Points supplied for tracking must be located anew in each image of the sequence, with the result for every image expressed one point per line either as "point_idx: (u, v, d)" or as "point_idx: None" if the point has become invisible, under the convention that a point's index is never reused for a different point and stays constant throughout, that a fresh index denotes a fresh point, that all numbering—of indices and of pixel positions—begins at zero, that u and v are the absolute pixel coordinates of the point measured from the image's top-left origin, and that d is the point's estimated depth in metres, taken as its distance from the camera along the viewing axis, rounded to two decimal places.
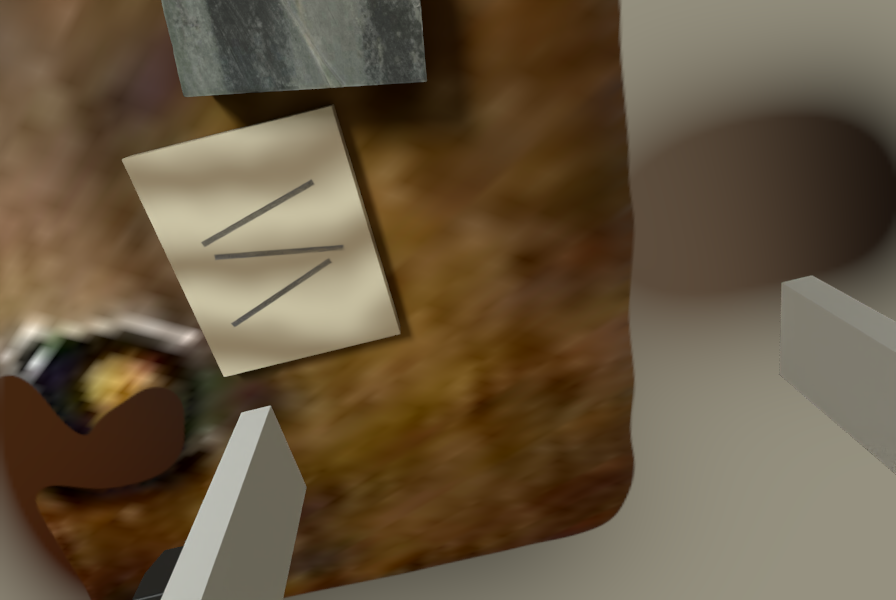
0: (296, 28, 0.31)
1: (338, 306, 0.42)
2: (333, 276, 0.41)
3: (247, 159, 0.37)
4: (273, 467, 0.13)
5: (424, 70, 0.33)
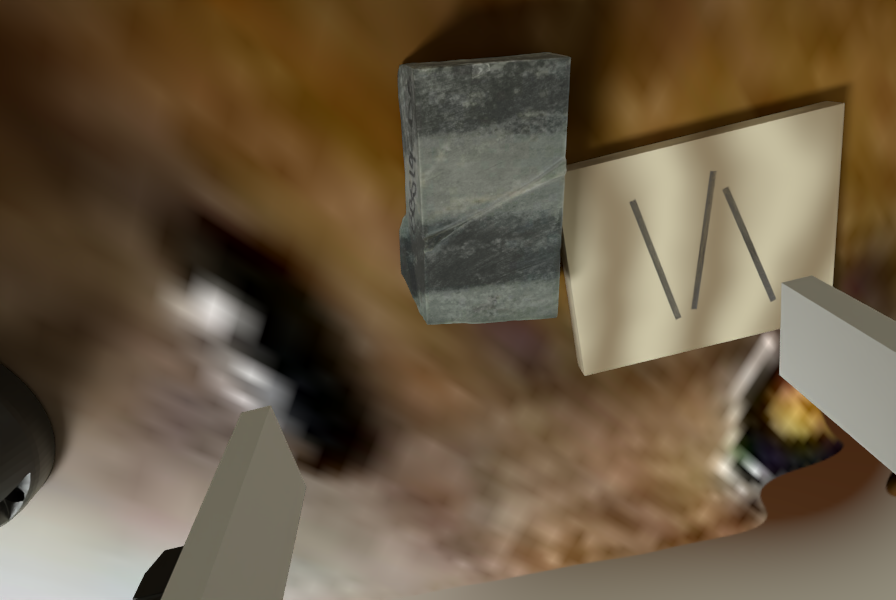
0: (503, 205, 0.30)
1: (784, 182, 0.34)
2: (745, 185, 0.34)
3: (599, 266, 0.35)
4: (273, 467, 0.13)
5: (558, 59, 0.27)
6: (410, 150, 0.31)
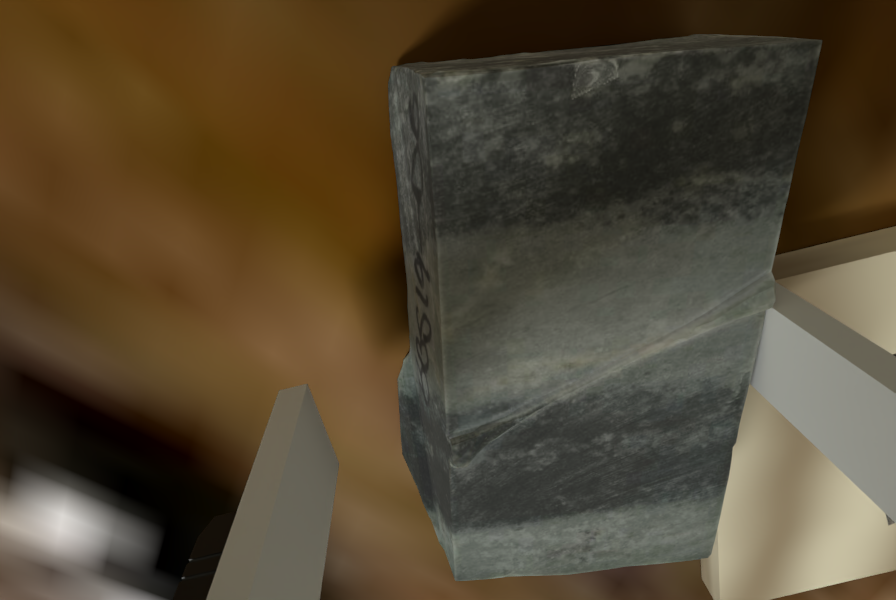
0: (625, 371, 0.14)
1: None
2: None
3: (770, 448, 0.19)
4: (311, 441, 0.14)
5: (790, 46, 0.11)
6: (417, 249, 0.14)
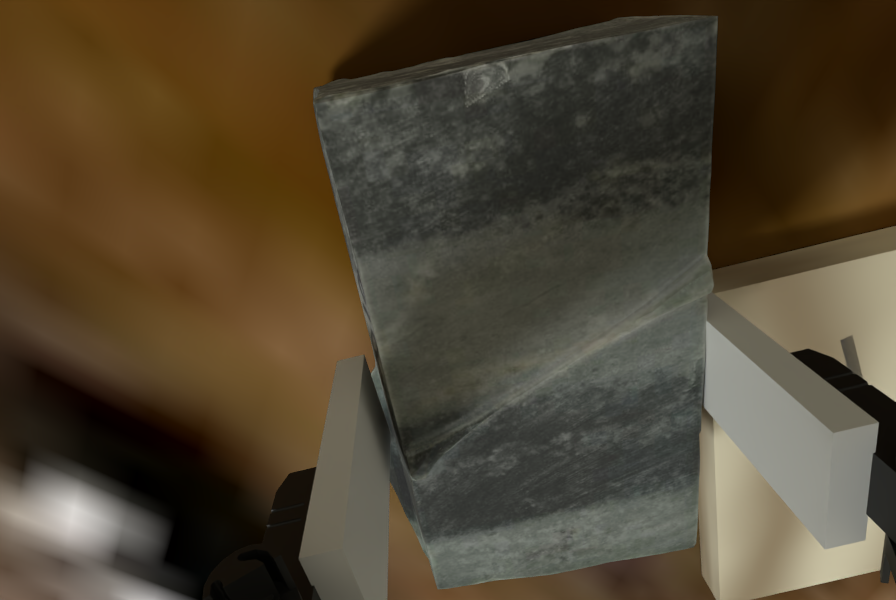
0: (571, 370, 0.13)
1: None
2: None
3: None
4: (371, 408, 0.15)
5: (684, 26, 0.10)
6: (356, 266, 0.14)
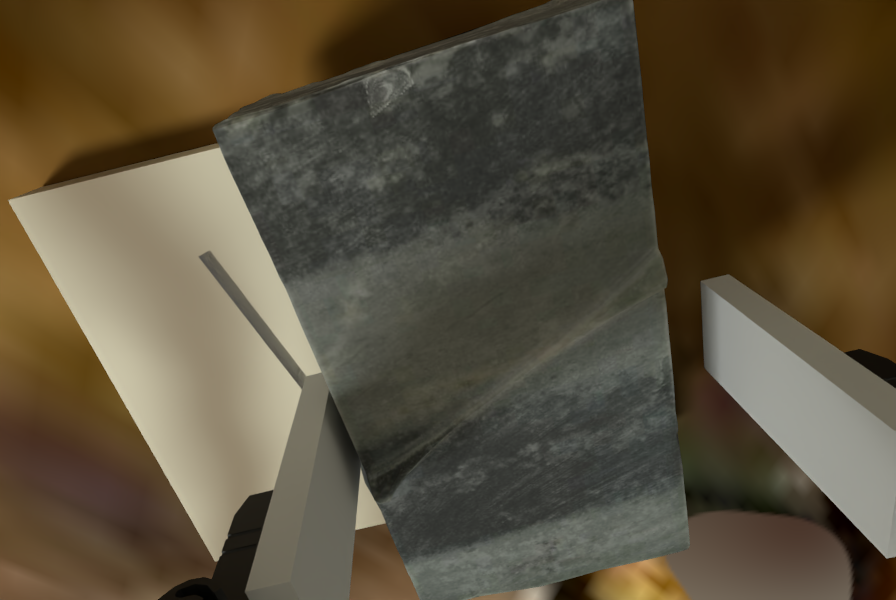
0: (528, 380, 0.13)
1: None
2: None
3: (176, 378, 0.18)
4: (339, 425, 0.14)
5: (596, 7, 0.09)
6: None
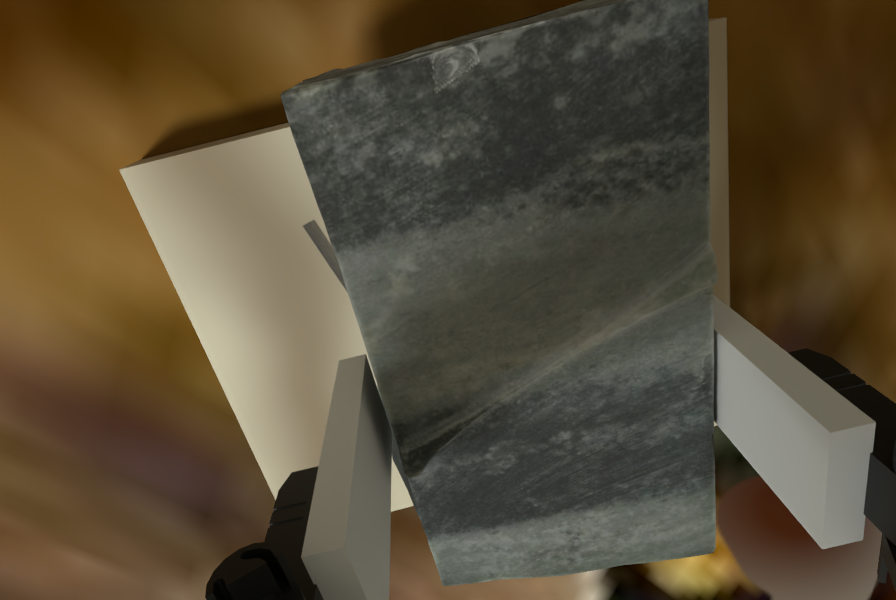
0: (567, 366, 0.13)
1: None
2: None
3: (270, 350, 0.18)
4: (373, 407, 0.15)
5: None
6: None
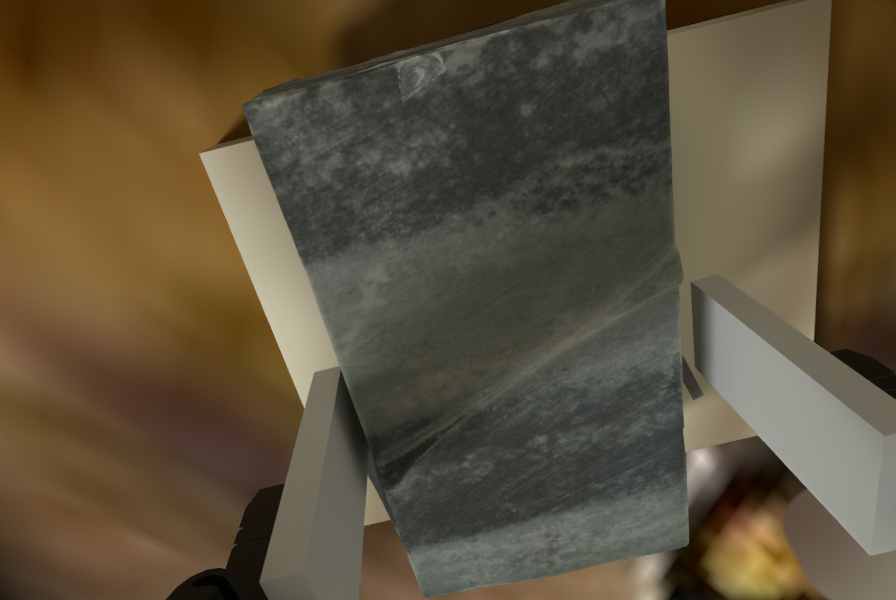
0: (541, 370, 0.13)
1: (706, 170, 0.16)
2: None
3: None
4: (347, 420, 0.14)
5: (629, 2, 0.10)
6: None
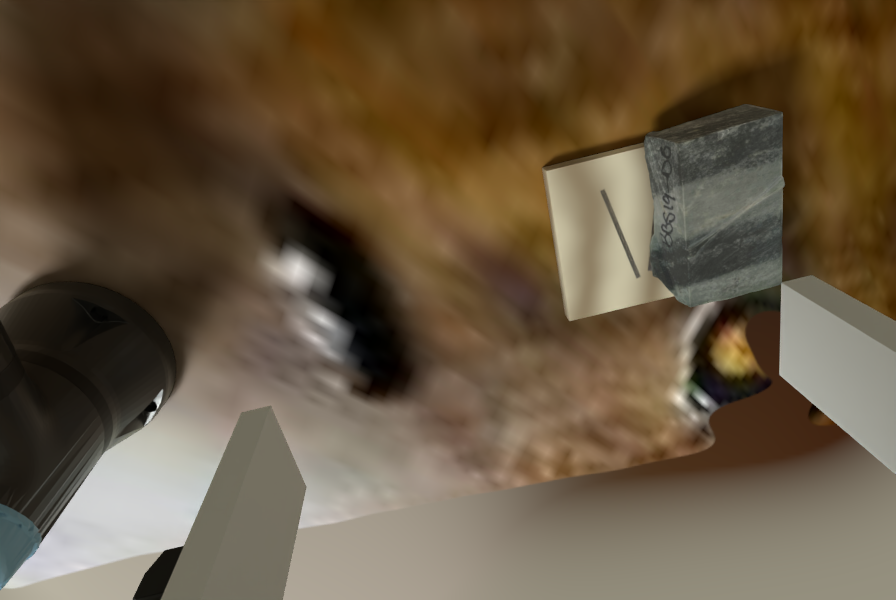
0: (741, 216, 0.43)
1: None
2: None
3: (579, 237, 0.48)
4: (273, 467, 0.13)
5: (774, 115, 0.40)
6: (665, 192, 0.45)
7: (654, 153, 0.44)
